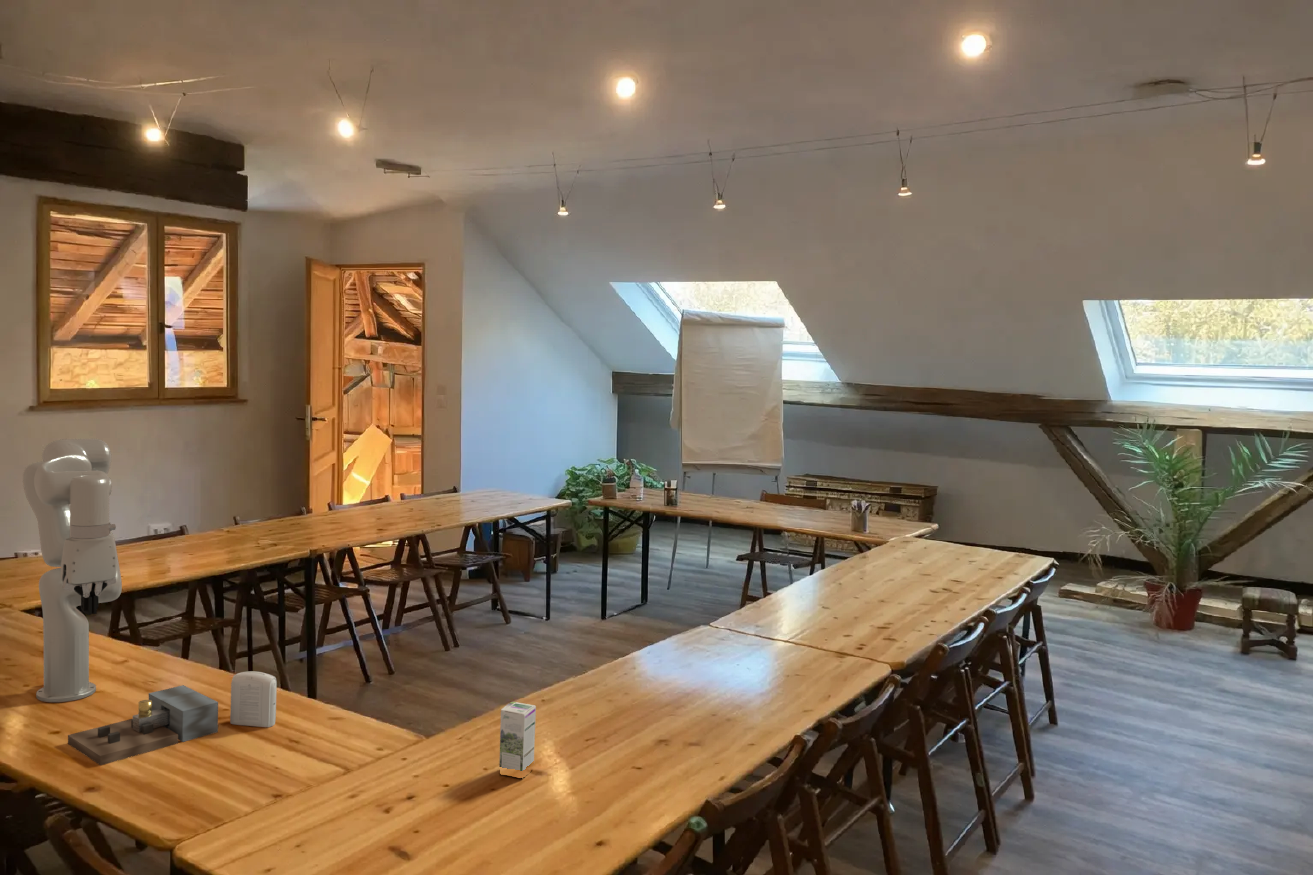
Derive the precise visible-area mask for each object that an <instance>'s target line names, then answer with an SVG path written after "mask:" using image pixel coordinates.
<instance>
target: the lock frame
mask: <svg viewBox="0 0 1313 875" xmlns="http://www.w3.org/2000/svg"><path fill="white" fill-rule="evenodd" d="M148 700H152V711H153V710H157V709H161V708H165V707H166V708H168V709H170V724H169V725H165V726H161V727H158V728H154V729H153V724H152V723H148V724H144V725H142V732H137V731H136V730H134V729H133V718H130V719H129V718H128V719H125V720H121V721H118V722H114V723H110V724H106V725H102V726H97V727H94V728H91V729H86V730H81V731H78V732H74V733H70V734H67V744H68V745H69V746H70V747H72V748H73V749H75V750H76V751H78V752H80V753H81V754H82V755H84V756H85V757H87V758H89V759H90V760H92V761H93V762H95V763H96V764H97V765H99V766H103V765H106V764H111V763H113V762H114V763H115V762H118V761H121V760H124V759H128V757H129V758H132V757H135V755H136V756H139V755H143V754H145V753H149V752H153V751H156V749H157V750H159V749H163V748H167V747H170V746H174V745H177V744H179V741H180V742H182V743H184V742H187V741H191V740H195V739H199V738H202V737H205V736H209V735H212V734H216V733H218V732H219V701H217V700H215V699H213V698H211V697H209V696H206V695H204V694H202V693H201V692H198V691H197V690H194V689H192V688H191V687H188V686H186V685H183V684H182V685H178V686H174V687H169V688H165V689H160V690H156V691H152V692H148ZM198 737H199V738H198ZM138 754H139V755H138ZM131 756H132V757H131ZM117 760H118V761H117Z"/></svg>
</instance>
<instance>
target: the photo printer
mask: <svg viewBox="0 0 1313 875" xmlns="http://www.w3.org/2000/svg"><path fill="white" fill-rule="evenodd" d="M277 683H278V682H277V678H276V676H274V675H272V674H269V673H265V672H262V671H252V670H251V671H241V672H237V673H236V674H234V675H233V677H232V679H231V683H230V716H229V717H230V718H229V720H230V724H232V725H238V726H248V727H249V726H250V727H260V728H261V727H262V728H271V727H273V726H275V724H276V718H277V717H276V716H277V686H278V684H277Z"/></svg>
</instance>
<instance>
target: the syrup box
mask: <svg viewBox="0 0 1313 875" xmlns="http://www.w3.org/2000/svg"><path fill="white" fill-rule="evenodd" d="M536 711H537V706H536V705H534V704H529V703H523V702H517V701H511V702H509V703H507V704H505V706H503V707H502V708H501V709H500V731H499V732H500V733H499V734H500V735H499V761H498V762H499V763H498V765H499V767H502V768H507V769H515V770H520V771H523V770H525V769H526V767H527V766H529V765H530V764H531V763H532V762H533V761H534V762H535V742H536V741H535V738H536V736H535V735H536V717H537V712H536ZM499 767H498V768H499Z"/></svg>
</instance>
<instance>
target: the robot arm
mask: <svg viewBox="0 0 1313 875" xmlns="http://www.w3.org/2000/svg"><path fill="white" fill-rule="evenodd" d="M111 452H112V451H111V448H110V446H109V445H108V443H107V442H106V441H104V440H103V439H99V438H79V439H78V438H66V439H57V440H53V441H51V442H50V443H48V444H47V445H46V446H45V447H44V448H43V450H42V453H41V454H42V455H41V456H42V457H41V458H42V459H41V460H42V461H36V462H32V463H31V464H28V465H27V466H26V467H25V468H24V470H23V473H22V484H23V485H22V486H23V491H24V495H25V497H26V500H27V502H28V505H29V506H30V508H31V510H32V511H33V513H34V515H35V517H36V518H35V519H36V520H37V527H38V535H39V542H40V552H41V556H42V559H43V561H44V563H45V564H46V565H48V566H49V567H51V568H52V567H54V568H53V569H49V570H48V571H46V572H44V573H42V575H41V577H40V578H39V581H38V592H39V598H40V602H41V609H42V622H43V623H42V624H43V687H41V688H39V689H38V690H37V691H36V694H35V696H36V697H35V698H36V699H37V700H38V701H41V702H46V703H65V702H66V703H67V702H72V701H78V700H82V699H84V698H85V699H86V698H87V697H90V696H91V695H93V694H95V692H96V691H97V685H96V684H95V683H93V682H90V679H89V678H90V642H89V641H90V634H89V633H90V631H89V630H90V627H89V626H90V624H89V621H88V618H87V617H86V616H85V615H88V616H90V615H96V614H97V612H98V611H97V610H98V609H99V604H100V603H101V604H103V603H108V602H113V601H115V600H117V599H118V598H119V597H120V595H121V593H122V590H123V589H122V586H123V584H122V581H123V580H122V575H121V574H122V573H121V568H120V564H119V557H118V551H117V545H116V540H115V539H116V538H115V537H114V534H113V533H112V531H116V529H117V528H116V527H117V526H116V524H115V523H113V524H112V523H111V522H110V496H111V495H112V491H113V490H112V489H113V483H112V479H111V478H110V477H109V475H108V473H109V471H110V468H111V465H112V453H111ZM78 606H80V609H81V611H80V609H78V608H77V607H78Z"/></svg>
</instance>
